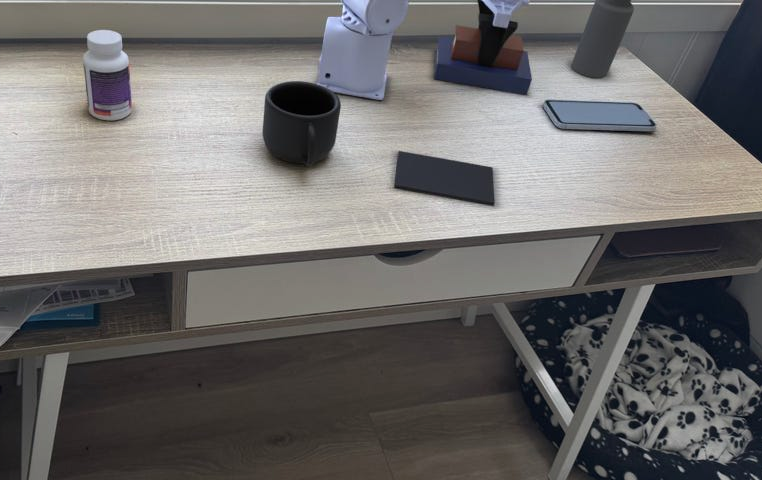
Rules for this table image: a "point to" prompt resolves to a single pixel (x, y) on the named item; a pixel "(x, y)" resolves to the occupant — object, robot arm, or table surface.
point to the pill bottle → (107, 76)
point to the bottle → (602, 37)
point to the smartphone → (599, 115)
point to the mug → (300, 121)
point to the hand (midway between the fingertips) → (484, 55)
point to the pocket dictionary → (468, 48)
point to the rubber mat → (445, 178)
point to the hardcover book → (480, 71)
